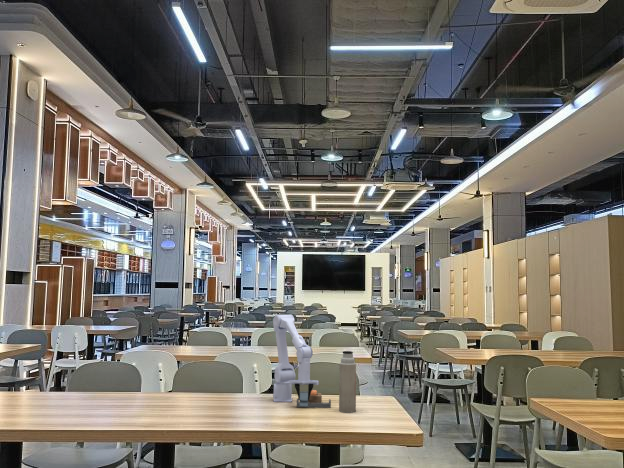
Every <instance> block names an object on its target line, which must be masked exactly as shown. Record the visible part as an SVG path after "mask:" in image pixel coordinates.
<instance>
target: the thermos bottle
mask: <svg viewBox="0 0 624 468" xmlns="http://www.w3.org/2000/svg"><path fill="white" fill-rule="evenodd" d="M353 353H354V351H351V350H344V351H342V357H341V358H340V362H339V367H338V368H339V369H338V370H339V373H338V375H339V376H338V377H339V379H338V380H339V382H338V384H339V385H338V387H339V388H338V395H339V396H338V411H339V412H340V413H346V414H348V413H349V414H350V413H352V414H353V413H355V412H357V408H356V407H357V363H356V360H355V358H354V355H353Z"/></svg>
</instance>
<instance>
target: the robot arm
mask: <svg viewBox="0 0 624 468" xmlns="http://www.w3.org/2000/svg"><path fill="white" fill-rule="evenodd" d="M272 323H273V331H274V332H275V341H276V347H277V357H278V365H277V366H276V367H274V374H273V375H274V381H275V382H274V384H273V394H272V395H273V396H272V398H273V402H274V403H275V402H277V403H279V402H281V403H283V402H284V403H285V402H286V403H291V402H293V398H292V394H293V391H292V390H293V389H292V388H293V385H294V388H295V391H296V393H297V399H298V400H299V401H300V390H301V388H300V387H301V385H303V386H305V385H307V387H308V400H309V397H310V394H311V391H312V390H314V386H319V382H320V381H319V380H316V379H315V380H314V379H311V358H312V357H313V355H314V353H313V352H314V351H313V348H312V347H311V346H310V345H308V344H307V343H306V341H305V339H304V338H303V336H302V335H301V334H299V333H298V330H297V328H296V326H295V317H294V315H293V314H291V313H289V314H279V313H278V314H275V315H274V317H273V319H272ZM287 332H288V333H289V335H290V336H291V338H292V339H291V342H292V344H293V346H294V348H295V350H296V353H295V354H296V357H297V362H298V367H297V368H298V372H297V373H298V374H297V375H296V371H295V369H294V366H293V365H292V364H291V363H290V362H289V361H290V360H289V353H288V345H287V343H288V342H287V335H286V333H287ZM296 376H297V378H298V379H296Z"/></svg>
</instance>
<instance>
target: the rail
mask: <svg viewBox="0 0 624 468" xmlns="http://www.w3.org/2000/svg"><path fill="white" fill-rule="evenodd" d="M296 408H308V409H309V408H310V409H311V408H312V409H313V408H315V409H321V408H322V409H331V408H332V400H331V399H330V398H329V399H328V402H326V401H325V402H323V401H322V402H308V406H300V400H298V398H296Z"/></svg>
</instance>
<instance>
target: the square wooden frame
mask: <svg viewBox="0 0 624 468" xmlns="http://www.w3.org/2000/svg"><path fill="white" fill-rule="evenodd" d="M322 396H323V395H322V393H321V392H317V395H311V394H310V397H309V400H308V402H323V401H322V400H323V397H322Z"/></svg>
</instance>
